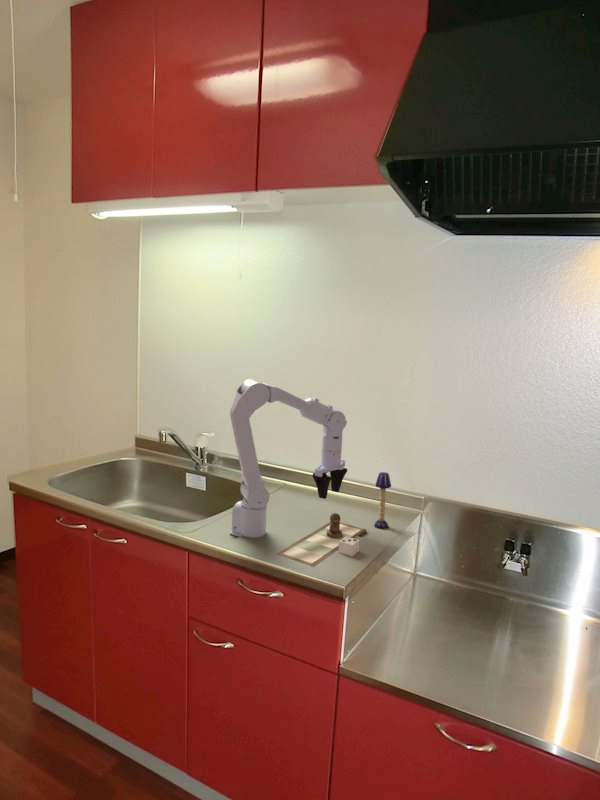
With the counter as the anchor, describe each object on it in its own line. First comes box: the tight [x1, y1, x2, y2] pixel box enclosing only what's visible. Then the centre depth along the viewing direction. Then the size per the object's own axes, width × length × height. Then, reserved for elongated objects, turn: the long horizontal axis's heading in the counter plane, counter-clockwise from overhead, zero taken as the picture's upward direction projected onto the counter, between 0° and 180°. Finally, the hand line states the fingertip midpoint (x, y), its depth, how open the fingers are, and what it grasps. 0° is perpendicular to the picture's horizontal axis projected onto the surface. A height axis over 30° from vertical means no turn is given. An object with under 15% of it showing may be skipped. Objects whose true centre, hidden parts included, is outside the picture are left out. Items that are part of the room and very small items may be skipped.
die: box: [337, 536, 360, 557], centre depth 138 cm, size 4×4×4 cm
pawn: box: [327, 512, 342, 538], centre depth 148 cm, size 4×4×6 cm
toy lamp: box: [373, 471, 392, 530], centre depth 158 cm, size 5×5×17 cm
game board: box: [276, 521, 367, 568], centre depth 144 cm, size 11×30×1 cm, turn 147°
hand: (329, 494), depth 154 cm, fingers open, 7 cm apart
